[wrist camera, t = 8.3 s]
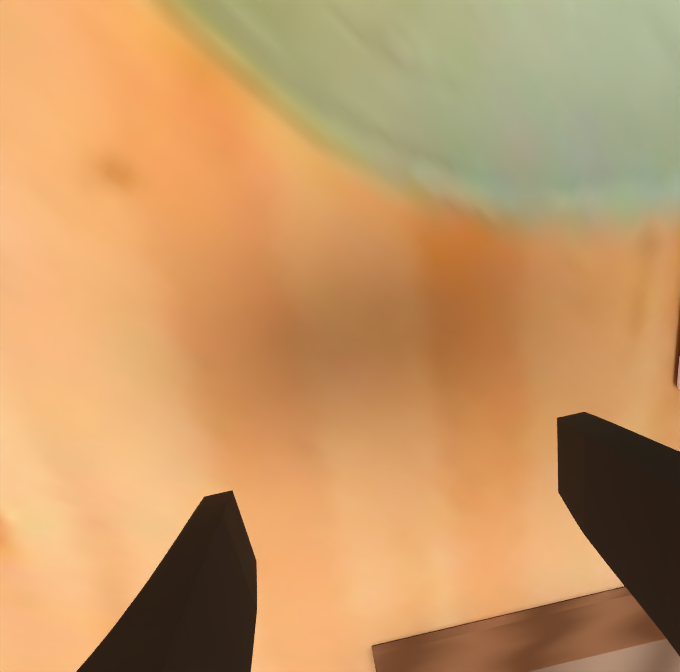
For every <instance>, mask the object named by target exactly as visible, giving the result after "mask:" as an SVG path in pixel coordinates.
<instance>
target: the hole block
mask: <svg viewBox="0 0 680 672" xmlns="http://www.w3.org/2000/svg"><path fill="white" fill-rule="evenodd" d="M372 651H373V656H374V662H375V668H376V672H680V656H679V655H678V654H677V652H676V651H675V650H674V648H673V647H672V646H671V644H670V643H669V642H668V640H667V639H666V637H665V636H664V635H663V633H662V632H661V631H660V630H659V628H658V627H657V626H656V625H655V623H654V622H653V621H652V620H651V618H650V617H649V616H648V615H647V613H646V612H645V611H644V610H643V608H642V607H641V606H640V604H639V603H638V602H637V601H636V599H635V598H634V597H633V596H632V594H631V593H630V592H629V591H628V589H627V588H626V587H623V588H619V589H615V590H611V591H606V592H602V593H598V594H594V595H589V596H585V597H581V598H576V599H572V600H568V601H564V602H559V603H555V604H551V605H547V606H542V607H538V608H534V609H530V610H525V611H521V612H517V613H513V614H508V615H504V616H500V617H495V618H491V619H487V620H483V621H478V622H474V623H470V624H466V625H461V626H457V627H453V628H449V629H444V630H440V631H436V632H432V633H427V634H423V635H419V636H414V637H410V638H406V639H402V640H397V641H393V642H389V643H385V644H380V645H376V646H372Z"/></svg>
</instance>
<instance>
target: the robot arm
mask: <svg viewBox="0 0 680 672" xmlns="http://www.w3.org/2000/svg"><path fill="white" fill-rule="evenodd" d="M677 387H678V389H679V390H680V358H679V368H678V379H677ZM557 437H558V492H559V494H560V496H561V497H562V499H563V501H564V502H565V504H566V506H567V508H568V509H569V511H570V513H571V514H572V516H573V518H574V519H575V521H576V522H577V524H578V525H579V527H580V529H581V530H582V532H583V533H584V535H585V536H586V537H587V539H588V540H589V541H590V543H591V544H592V545H593V546H594V548H595V549H596V550H597V552H598V553H599V554H600V555H601V557H602V558H603V559H604V561H605V562H606V563H607V564H608V566H609V567H610V568H611V569H612V571H613V572H614V573H615V574H616V576H617V577H618V578H619V579H620V581H621V582H622V583H623V584H624V586H625V587H626V588H627V589H628V591H629V592H630V593H631V594H632V596H633V597H634V598H635V599H636V601H637V602H638V603H639V604H640V606H641V607H642V608H643V610H644V611H645V612H646V613H647V615H648V616H649V617H650V618H651V620H652V621H653V622H654V623H655V625H656V626H657V627H658V628H659V630H660V631H661V632H662V633H663V635H664V636H665V637H666V639H667V640H668V642H669V643H670V644H671V646H672V647H673V648H674V650H675V651H676V652H677V654H678V655H679V656H680V452H679V451H677V450H674V449H672V448H670V447H667V446H665V445H662V444H660V443H658V442H655V441H653V440H651V439H648V438H646V437H644V436H642V435H639V434H637V433H635V432H632V431H630V430H628V429H625V428H623V427H621V426H618V425H616V424H614V423H611V422H609V421H606V420H604V419H602V418H599V417H597V416H594V415H591V414H589V413H586V412H582V413H577V414H573V415H568V416H564V417H559V418H557ZM256 614H257V569H256V559H255V556H254V553H253V550H252V547H251V544H250V541H249V538H248V535H247V532H246V529H245V526H244V523H243V520H242V517H241V514H240V511H239V509H238V506H237V503H236V500H235V497H234V494H233V491H228V492H223V493H219V494H214V495H210V496H205V497H204V498H203V499H202V501H201V502H200V504H199V505H198V507H197V508H196V510H195V511H194V513H193V514H192V516H191V517H190V519H189V520H188V522H187V523H186V525H185V526H184V528H183V530H182V531H181V533H180V534H179V536H178V537H177V539H176V540H175V542H174V543H173V545H172V546H171V548H170V549H169V551H168V552H167V554H166V555H165V557H164V558H163V560H162V561H161V563H160V564H159V565H158V567H157V568H156V570H155V571H154V573H153V574H152V576H151V577H150V579H149V580H148V581H147V583H146V584H145V586H144V587H143V588H142V590H141V591H140V593H139V594H138V595H137V597H136V598H135V599H134V601H133V602H132V603H131V605H130V606H129V607H128V609H127V610H126V611H125V613H124V614H123V615H122V617H121V618H120V619H119V621H118V622H117V623H116V625H115V626H114V627H113V628H112V630H111V631H110V632H109V633H108V635H107V636H106V637H105V638H104V640H103V641H102V642H101V643H100V645H99V646H98V647H97V648H96V649H95V651H94V652H93V653H92V654H91V655H90V657H89V658H88V659H87V660H86V661H85V662H84V663H83V665H82V666H81V667H80V668H79V669H78V670H77V672H251V663H252V654H253V644H254V634H255V624H256Z"/></svg>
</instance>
